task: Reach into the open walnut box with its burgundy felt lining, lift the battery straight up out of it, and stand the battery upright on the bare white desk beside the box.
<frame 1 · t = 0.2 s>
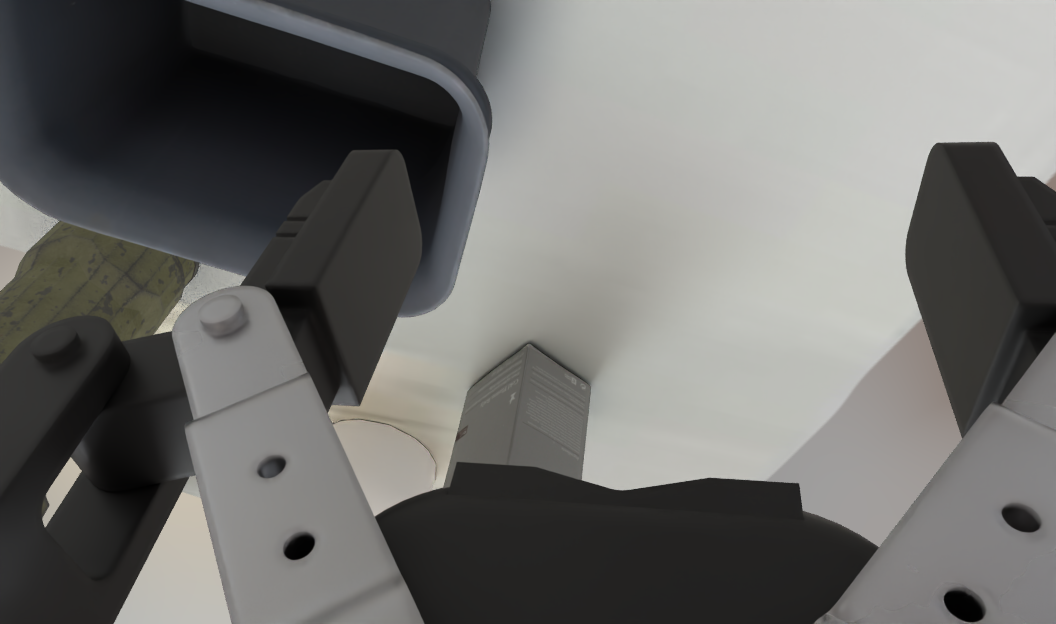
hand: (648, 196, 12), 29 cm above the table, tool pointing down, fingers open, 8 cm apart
storage bin: (336, 35, 42), on the table
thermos: (141, 238, 55), on the table
teardrop: (377, 458, 69), on the table
cosmetic box: (530, 388, 59), on the table
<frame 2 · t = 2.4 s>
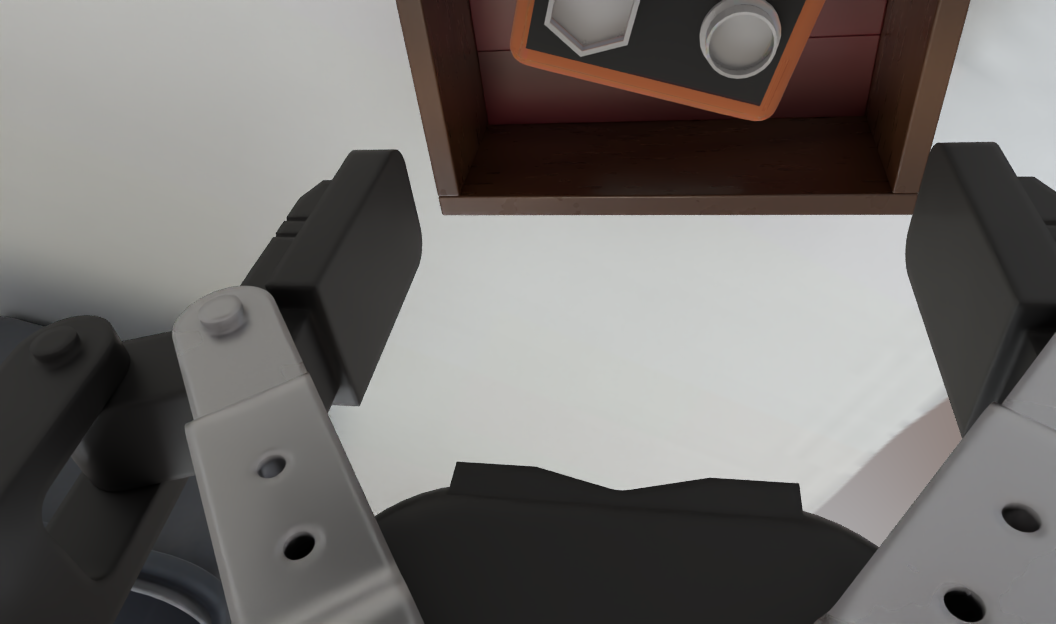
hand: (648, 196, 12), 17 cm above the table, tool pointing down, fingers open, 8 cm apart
storage bin: (154, 401, 47), on the table
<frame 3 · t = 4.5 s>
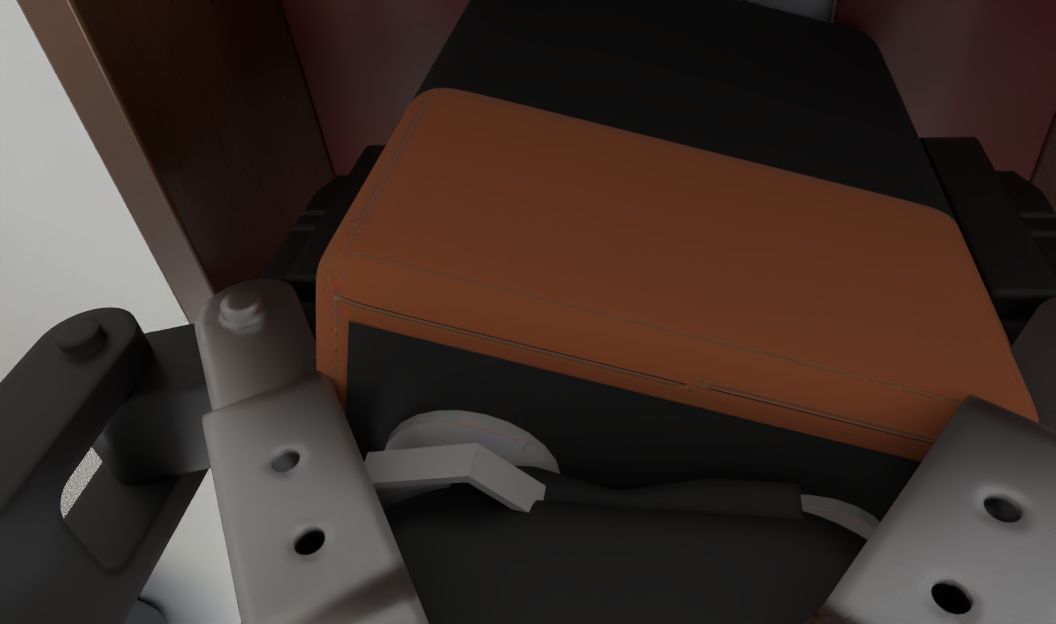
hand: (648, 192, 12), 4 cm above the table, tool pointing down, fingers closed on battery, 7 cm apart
walnut box: (656, 85, 15), on the table
storage bin: (16, 601, 38), on the table
battery: (656, 90, 15), resting in walnut box, touching gripper
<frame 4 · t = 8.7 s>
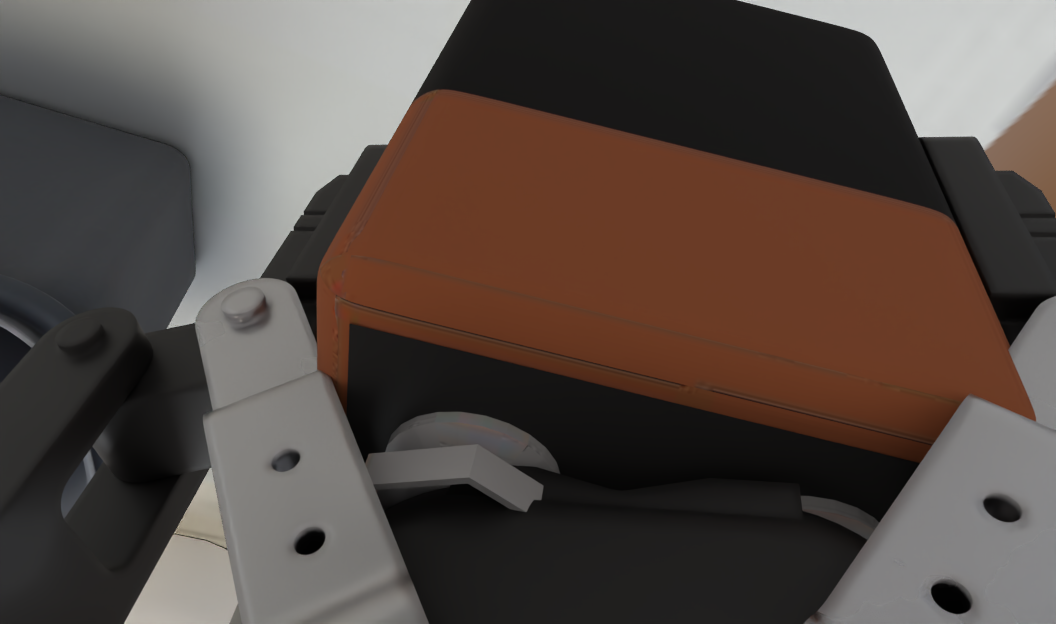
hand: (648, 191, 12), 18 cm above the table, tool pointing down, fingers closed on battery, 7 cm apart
storage bin: (45, 183, 39), on the table
teardrop: (204, 569, 65), on the table
battery: (656, 91, 15), point 15 cm above the table, touching gripper
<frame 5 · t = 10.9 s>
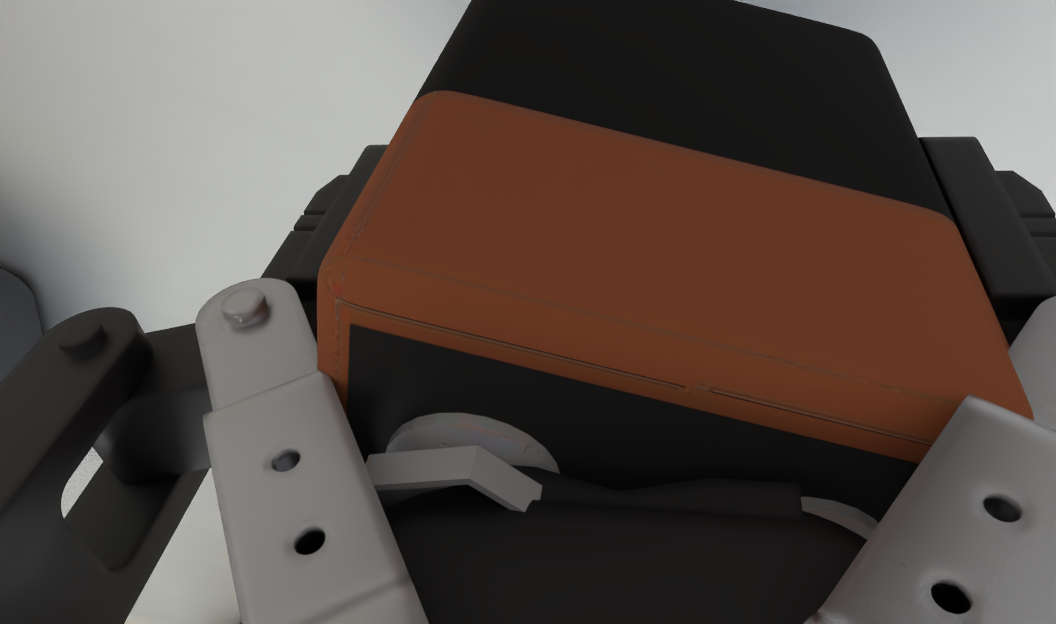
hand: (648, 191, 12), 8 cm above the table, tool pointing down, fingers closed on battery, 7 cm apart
battery: (656, 91, 15), point 4 cm above the table, touching gripper
when the fingers open (3 cm above the table, at t = 12.8 s): battery stays where it is, on the table.
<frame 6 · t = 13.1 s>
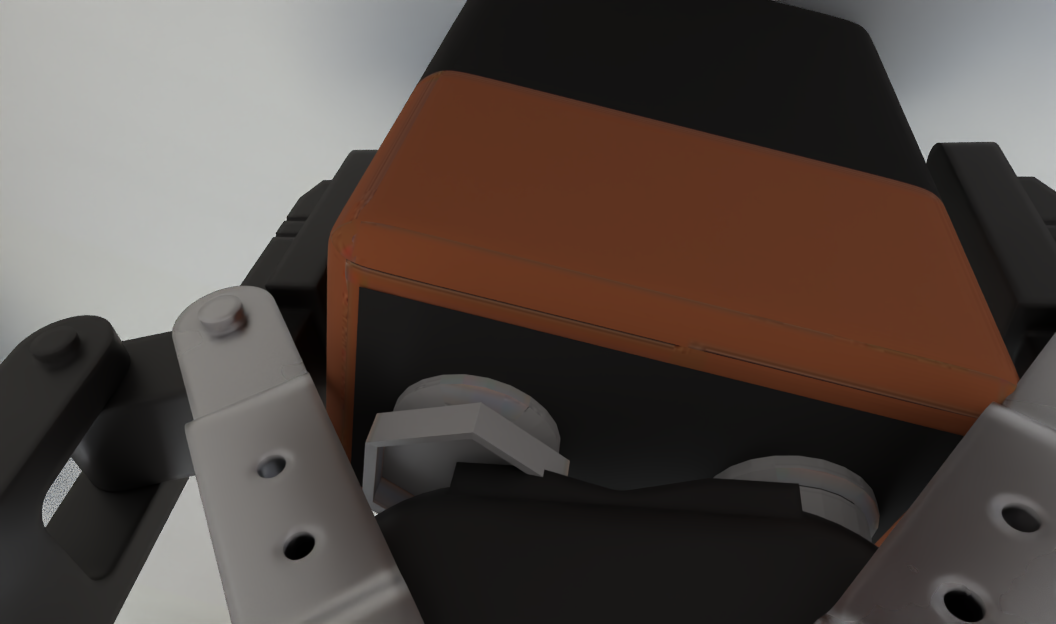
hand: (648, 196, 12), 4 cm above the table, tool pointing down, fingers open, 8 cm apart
battery: (654, 80, 15), on the table
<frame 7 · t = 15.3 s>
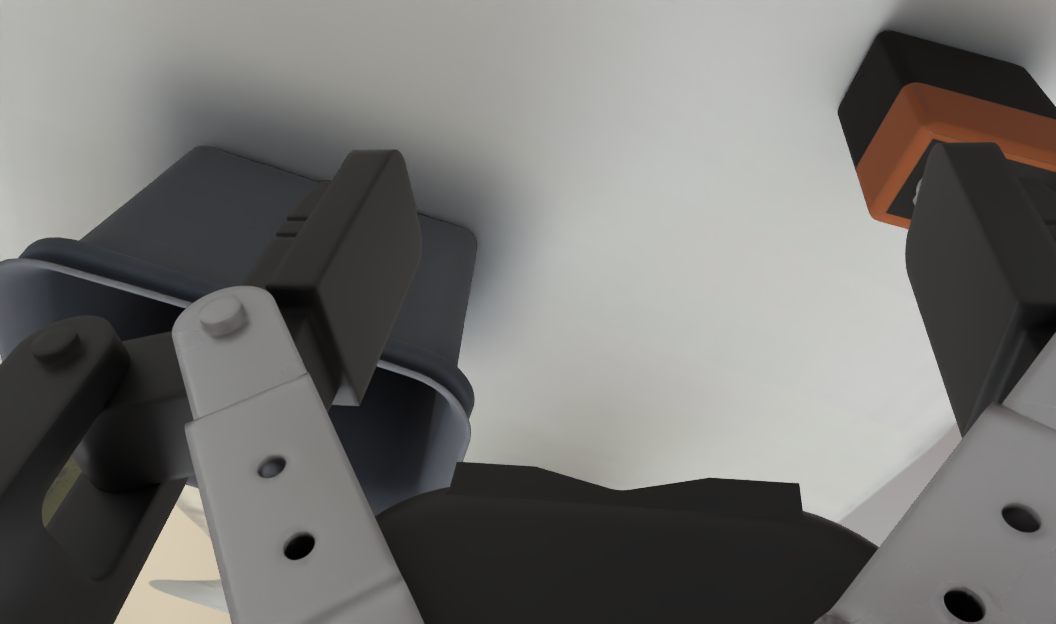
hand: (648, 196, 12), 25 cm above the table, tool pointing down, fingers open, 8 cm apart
storage bin: (336, 252, 47), on the table
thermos: (147, 394, 59), on the table
battery: (926, 88, 35), on the table
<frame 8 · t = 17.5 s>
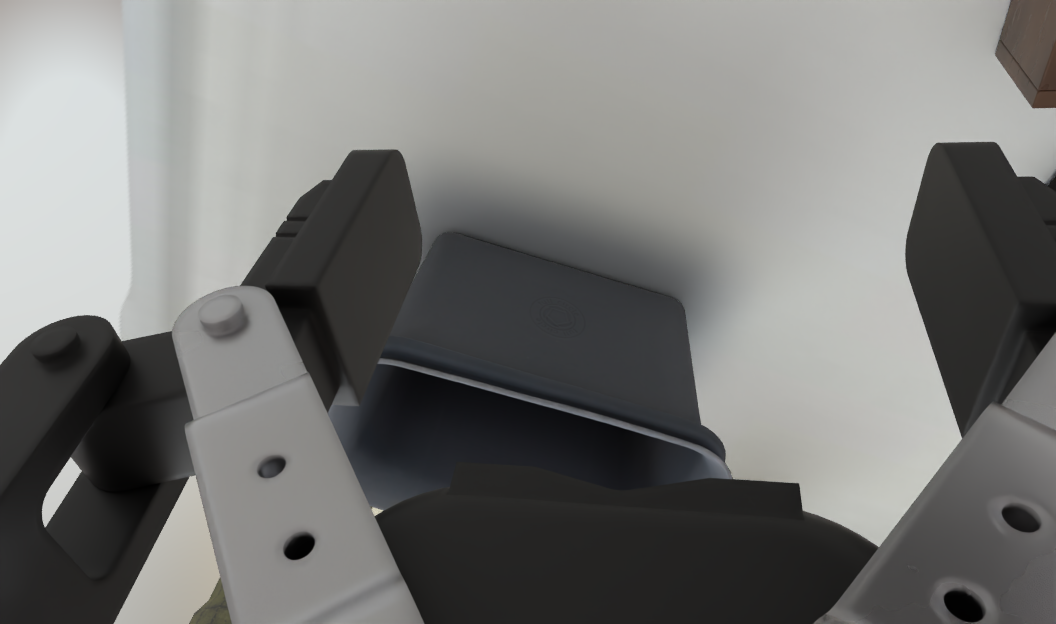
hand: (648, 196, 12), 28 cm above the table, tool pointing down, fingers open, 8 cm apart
storage bin: (547, 316, 53), on the table
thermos: (341, 433, 65), on the table
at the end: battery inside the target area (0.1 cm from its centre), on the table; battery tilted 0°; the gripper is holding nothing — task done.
